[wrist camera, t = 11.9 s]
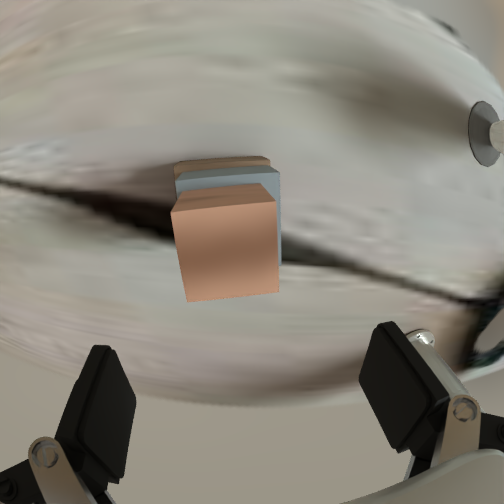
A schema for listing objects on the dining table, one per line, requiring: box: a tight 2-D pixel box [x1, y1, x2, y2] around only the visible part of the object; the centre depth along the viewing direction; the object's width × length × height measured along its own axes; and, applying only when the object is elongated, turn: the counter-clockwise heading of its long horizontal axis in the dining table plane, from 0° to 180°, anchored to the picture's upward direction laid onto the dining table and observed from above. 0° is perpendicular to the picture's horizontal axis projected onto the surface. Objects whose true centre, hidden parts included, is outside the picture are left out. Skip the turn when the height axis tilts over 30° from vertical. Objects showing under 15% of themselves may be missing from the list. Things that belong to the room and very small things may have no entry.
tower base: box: [174, 156, 270, 199], centre depth 29 cm, size 9×9×5 cm
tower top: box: [175, 165, 281, 266], centre depth 25 cm, size 8×8×5 cm
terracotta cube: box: [171, 183, 279, 302], centre depth 20 cm, size 6×6×6 cm
